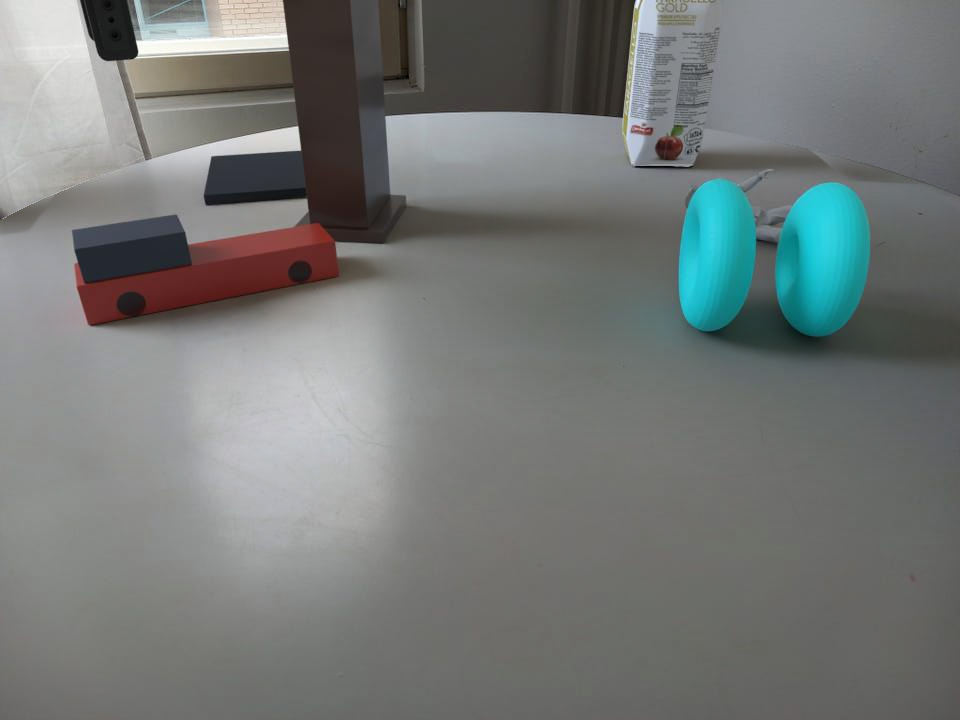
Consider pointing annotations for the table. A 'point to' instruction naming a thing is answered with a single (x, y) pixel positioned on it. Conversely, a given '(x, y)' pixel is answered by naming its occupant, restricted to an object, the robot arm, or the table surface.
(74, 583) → the table surface
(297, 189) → the mat
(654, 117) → the juice carton
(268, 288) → the blue-red two-tone block
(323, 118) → the plinth
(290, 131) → the table surface
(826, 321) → the donuts
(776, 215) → the soldier figure
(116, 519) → the table surface
